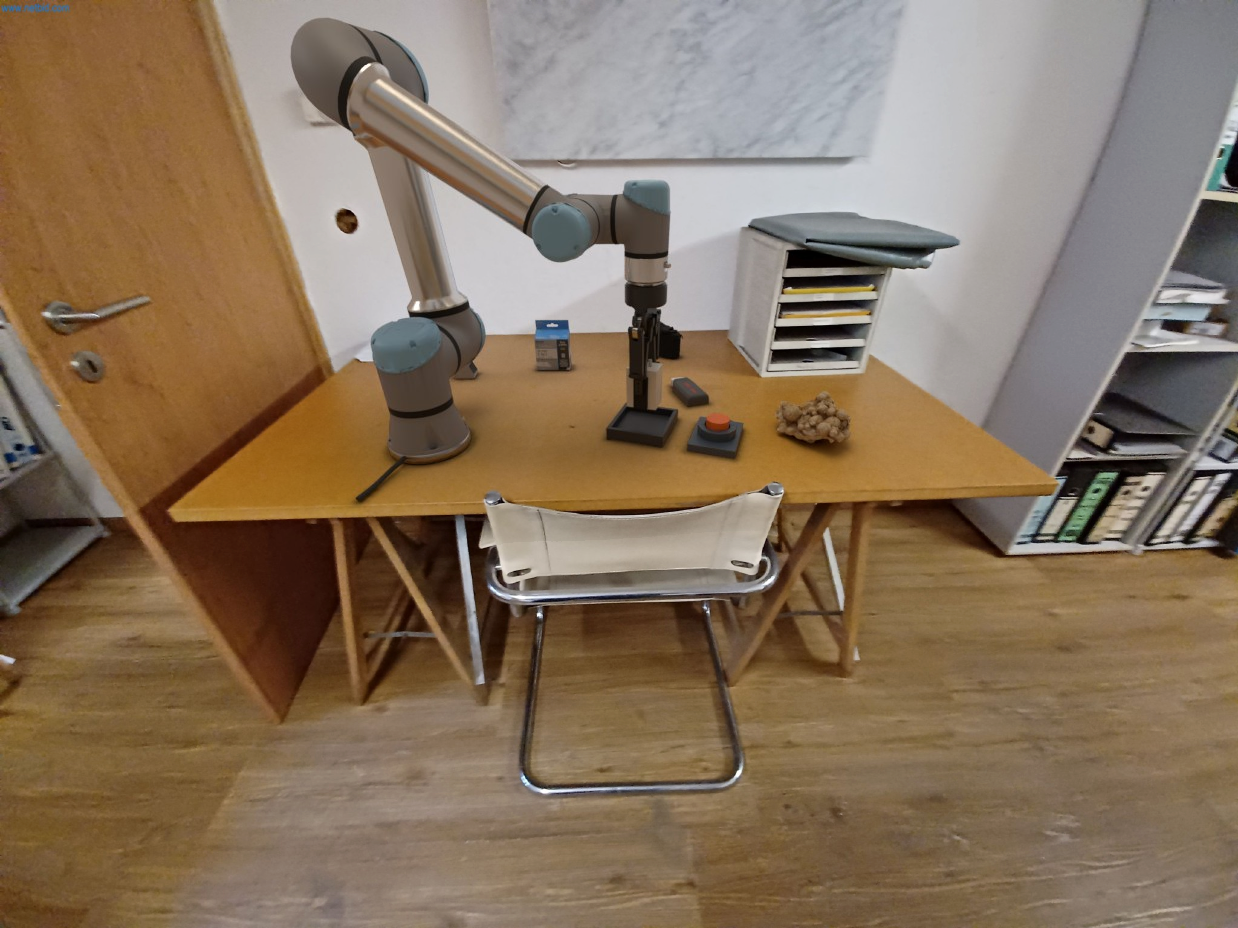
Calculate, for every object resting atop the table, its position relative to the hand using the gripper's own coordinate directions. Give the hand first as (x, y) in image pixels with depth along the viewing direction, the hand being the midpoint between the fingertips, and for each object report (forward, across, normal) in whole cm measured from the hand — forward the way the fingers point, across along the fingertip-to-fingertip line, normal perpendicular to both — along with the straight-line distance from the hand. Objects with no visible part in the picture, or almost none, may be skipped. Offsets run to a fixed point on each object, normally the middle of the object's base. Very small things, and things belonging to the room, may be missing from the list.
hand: (644, 402), depth 100 cm
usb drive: (+6, +19, -5) cm, 21 cm away
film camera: (+6, +46, +9) cm, 47 cm away
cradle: (+6, 0, 0) cm, 6 cm away
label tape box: (+6, +25, +32) cm, 41 cm away
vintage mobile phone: (+6, +13, +51) cm, 53 cm away
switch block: (+6, 0, -15) cm, 16 cm away
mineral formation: (+6, +7, -33) cm, 34 cm away
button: (+3, 0, -15) cm, 15 cm away
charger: (0, 0, 0) cm, 0 cm away
